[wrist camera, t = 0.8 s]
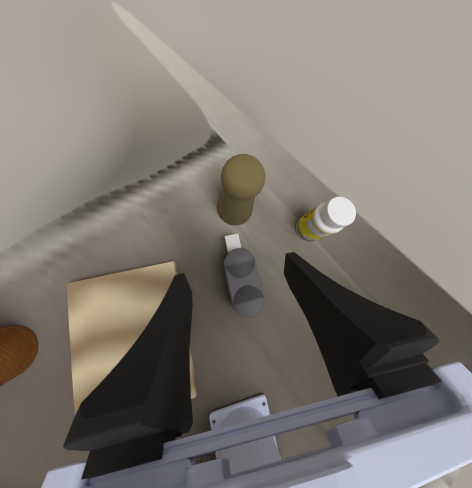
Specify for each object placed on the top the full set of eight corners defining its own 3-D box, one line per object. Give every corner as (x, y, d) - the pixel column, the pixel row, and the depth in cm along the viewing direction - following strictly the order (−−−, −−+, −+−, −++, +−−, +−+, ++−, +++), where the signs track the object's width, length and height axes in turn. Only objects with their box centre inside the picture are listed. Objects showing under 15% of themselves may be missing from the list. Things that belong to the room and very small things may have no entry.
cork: (238, 232, 29) (252, 205, 18) (209, 210, 29) (206, 171, 18) (258, 206, 30) (282, 166, 19) (231, 185, 30) (239, 134, 19)
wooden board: (197, 389, 24) (196, 397, 22) (85, 426, 21) (76, 437, 20) (176, 262, 26) (173, 261, 25) (75, 283, 24) (66, 283, 23)
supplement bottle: (312, 212, 31) (347, 188, 23) (325, 235, 30) (366, 219, 22) (290, 222, 30) (318, 201, 22) (303, 246, 29) (337, 234, 21)
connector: (258, 306, 27) (267, 313, 22) (233, 313, 26) (237, 321, 21) (241, 236, 28) (246, 228, 24) (217, 241, 28) (218, 234, 23)
